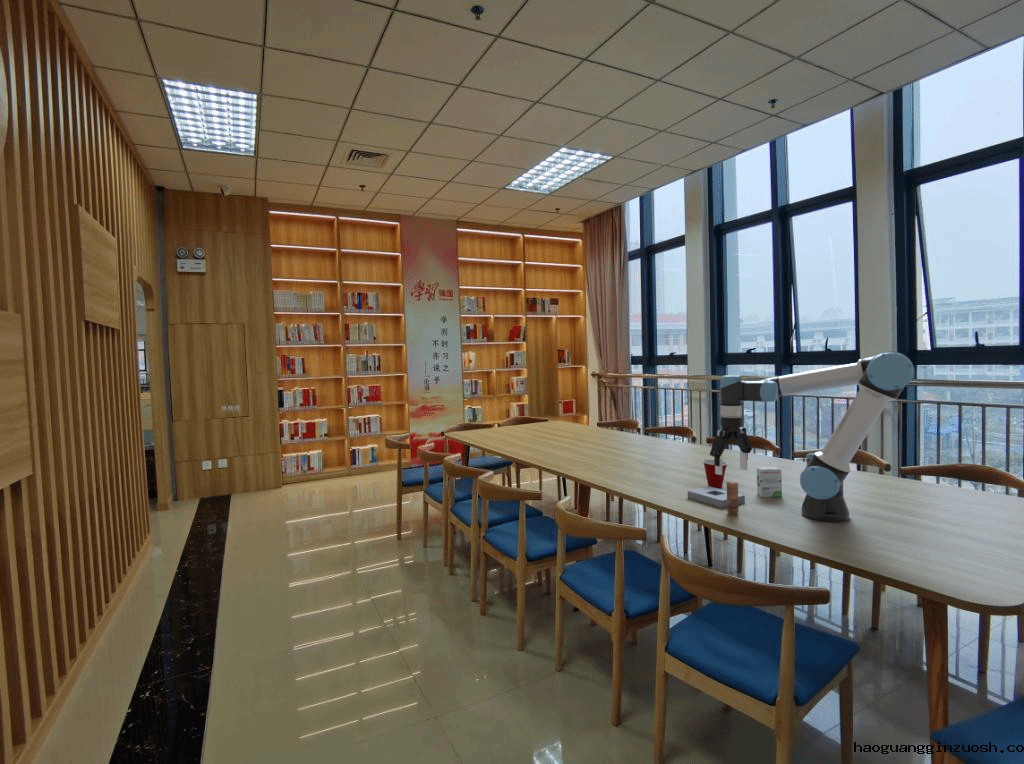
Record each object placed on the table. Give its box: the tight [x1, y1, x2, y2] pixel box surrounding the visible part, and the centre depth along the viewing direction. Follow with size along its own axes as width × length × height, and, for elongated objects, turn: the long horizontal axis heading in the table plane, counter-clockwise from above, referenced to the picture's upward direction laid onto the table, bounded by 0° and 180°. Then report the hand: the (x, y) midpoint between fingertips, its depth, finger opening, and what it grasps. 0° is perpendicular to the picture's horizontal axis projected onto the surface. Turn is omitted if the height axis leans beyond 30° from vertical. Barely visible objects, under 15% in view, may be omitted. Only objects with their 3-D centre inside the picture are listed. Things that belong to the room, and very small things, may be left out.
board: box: [687, 485, 746, 509], centre depth 217 cm, size 18×13×3 cm
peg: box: [726, 481, 740, 516], centre depth 198 cm, size 4×4×12 cm
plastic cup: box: [702, 459, 729, 489], centre depth 237 cm, size 11×11×12 cm
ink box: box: [756, 466, 783, 498], centre depth 220 cm, size 9×5×12 cm, turn 83°
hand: (731, 471), depth 198 cm, fingers open, 13 cm apart
